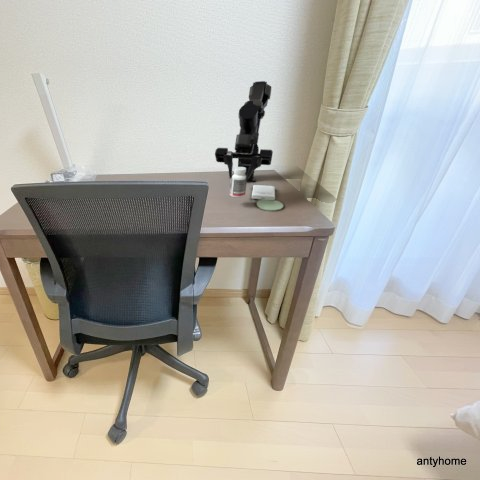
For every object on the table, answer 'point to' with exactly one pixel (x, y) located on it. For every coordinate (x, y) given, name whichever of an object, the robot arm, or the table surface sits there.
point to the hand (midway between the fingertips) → (238, 178)
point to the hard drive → (263, 192)
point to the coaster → (270, 205)
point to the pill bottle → (238, 182)
